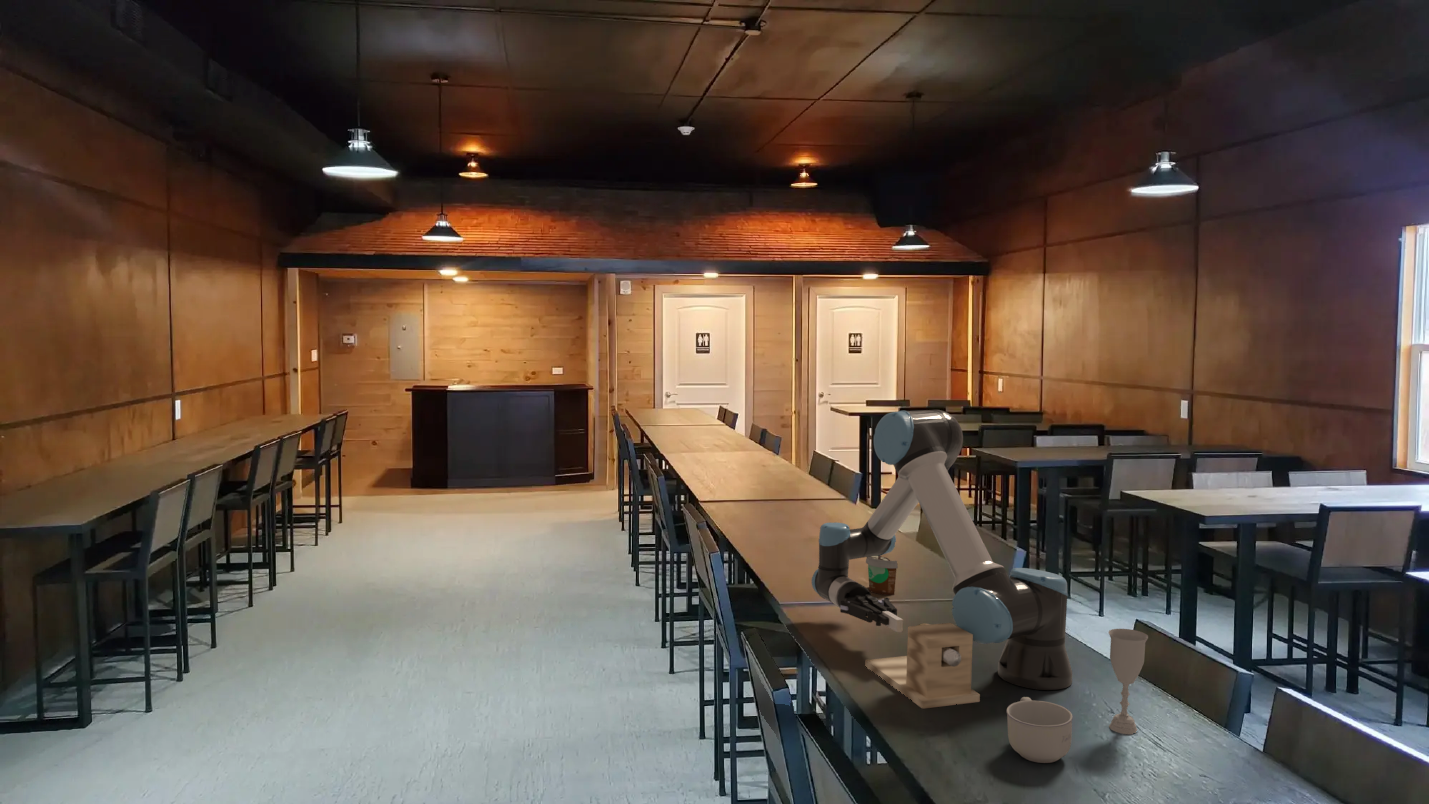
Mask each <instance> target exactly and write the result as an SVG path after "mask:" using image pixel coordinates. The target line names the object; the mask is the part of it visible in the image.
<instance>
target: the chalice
mask: <svg viewBox="0 0 1429 804" xmlns="http://www.w3.org/2000/svg"><path fill="white" fill-rule="evenodd" d="M1107 632H1108V635H1109V637H1110V649H1109V650H1110V651H1109V659H1110V663H1111V667H1112V669H1113V671H1114V674H1115V676H1116V679H1117V681H1118V682H1119V683H1121V684H1122V690H1121V692H1120V694H1121V698H1122V699H1121V700H1120V701H1119V704H1120V705H1121V712H1119V713H1116V714H1115V715H1114V716H1113V717H1112V720H1110V721H1111V722H1110V724H1108V728H1109V729H1110V730H1111V731H1112V732H1115V733H1118V734H1121V735H1134V734H1133V733H1136V731H1137V730H1138V728H1137V725H1136V723H1135V719H1134V718H1133V716H1131V715H1130V714H1129V713H1128V707H1129V706H1130V705H1131V704H1130V702H1129V700H1128V698H1129V696H1130V695H1131V694H1130V692H1129V685H1132V684H1134V683H1135V681H1136V679H1137V678H1138V676H1139V675H1140V673H1141V670H1142V668H1143V666H1144V663H1145V652H1146V642H1147V641H1148V639H1149V635H1148V634H1146V633H1145V632H1142V631H1139V630H1136V629H1131V628H1113V629H1109V631H1107ZM1136 734H1137V733H1136Z"/></svg>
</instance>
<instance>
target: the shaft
mask: <svg viewBox="0 0 1429 804" xmlns="http://www.w3.org/2000/svg"><path fill="white" fill-rule="evenodd" d="M920 625H930V624H929V623H924V622H923V623H920V624H917V625H916V626H920ZM941 660H942V661H944V662H946V663H947V664H949V665H950V666H953V667H955V666H957V665H958V664H959V663H960V662H961V655H960V653H959V652H957V651H955V650H953V649H952V648H950V647H942V658H941Z"/></svg>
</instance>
